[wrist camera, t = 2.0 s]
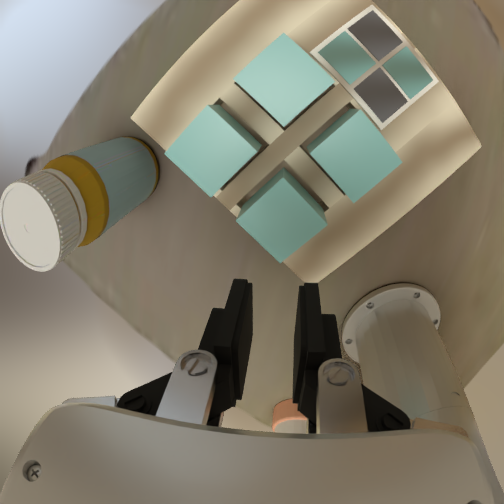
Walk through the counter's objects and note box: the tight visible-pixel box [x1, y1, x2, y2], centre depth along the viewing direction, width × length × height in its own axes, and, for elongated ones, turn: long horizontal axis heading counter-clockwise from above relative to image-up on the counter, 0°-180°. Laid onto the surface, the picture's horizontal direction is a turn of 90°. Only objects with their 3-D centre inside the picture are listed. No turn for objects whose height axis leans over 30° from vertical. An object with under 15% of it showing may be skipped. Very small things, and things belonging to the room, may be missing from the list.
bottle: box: [0, 137, 158, 272], centre depth 22 cm, size 7×7×15 cm
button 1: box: [307, 109, 402, 203], centre depth 20 cm, size 5×5×4 cm
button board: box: [131, 0, 482, 283], centre depth 22 cm, size 22×21×4 cm
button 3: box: [233, 33, 335, 127], centre depth 18 cm, size 5×5×4 cm
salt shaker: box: [272, 399, 307, 434], centre depth 34 cm, size 7×7×19 cm
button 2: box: [236, 167, 328, 263], centre depth 23 cm, size 5×5×4 cm
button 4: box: [164, 105, 262, 197], centre depth 21 cm, size 5×5×4 cm
